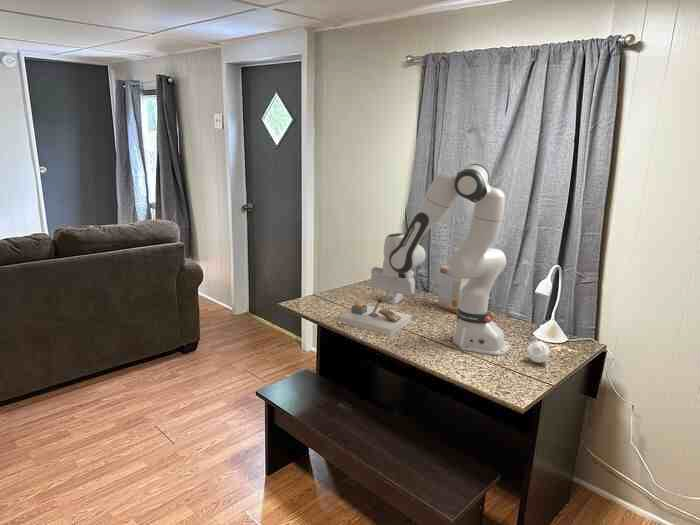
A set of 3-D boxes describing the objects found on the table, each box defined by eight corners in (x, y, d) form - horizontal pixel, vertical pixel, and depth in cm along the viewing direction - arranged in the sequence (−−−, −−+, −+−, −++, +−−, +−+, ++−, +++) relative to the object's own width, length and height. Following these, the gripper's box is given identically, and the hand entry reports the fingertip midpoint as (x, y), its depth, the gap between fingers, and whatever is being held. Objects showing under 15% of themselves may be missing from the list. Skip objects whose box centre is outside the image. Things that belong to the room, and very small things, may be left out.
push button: (364, 307, 221) (364, 303, 220) (360, 309, 218) (360, 305, 217) (358, 305, 222) (358, 301, 222) (354, 307, 220) (354, 303, 219)
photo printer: (396, 297, 251) (397, 275, 247) (403, 299, 248) (405, 276, 245) (387, 303, 242) (388, 279, 239) (395, 305, 240) (396, 281, 237)
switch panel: (410, 321, 219) (411, 309, 217) (390, 336, 202) (391, 322, 201) (361, 310, 232) (361, 298, 230) (339, 322, 215) (339, 310, 214)
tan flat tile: (400, 319, 213) (401, 316, 212) (395, 322, 209) (396, 320, 208) (383, 309, 216) (384, 307, 216) (378, 312, 212) (379, 310, 212)
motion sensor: (523, 361, 181) (525, 342, 180) (530, 355, 187) (532, 336, 185) (544, 368, 177) (547, 348, 175) (551, 361, 182) (554, 342, 180)
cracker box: (466, 312, 231) (470, 270, 226) (458, 315, 228) (461, 272, 223) (445, 304, 243) (448, 264, 237) (437, 306, 239) (440, 265, 234)
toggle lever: (376, 313, 217) (383, 299, 213) (374, 314, 215) (381, 301, 212) (372, 311, 218) (380, 297, 214) (370, 312, 216) (377, 298, 213)
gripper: (368, 267, 209) (366, 297, 213) (411, 276, 199) (409, 307, 203) (375, 264, 214) (373, 293, 218) (417, 272, 204) (415, 303, 208)
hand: (391, 300), depth 210 cm, fingers closed
